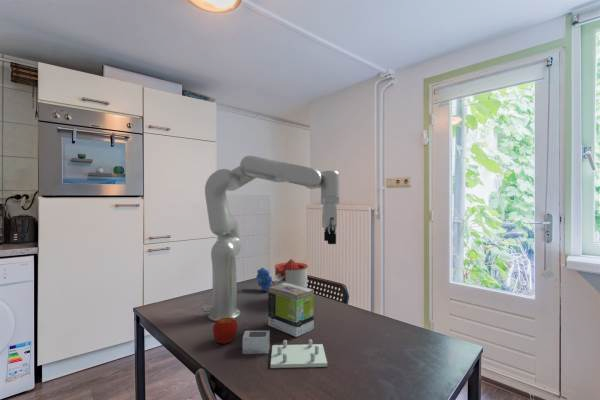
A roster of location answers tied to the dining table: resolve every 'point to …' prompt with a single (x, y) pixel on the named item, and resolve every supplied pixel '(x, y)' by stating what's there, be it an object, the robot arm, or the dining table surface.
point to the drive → (256, 342)
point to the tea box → (291, 308)
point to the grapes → (264, 279)
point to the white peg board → (298, 355)
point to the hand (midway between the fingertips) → (329, 242)
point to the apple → (225, 330)
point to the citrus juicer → (291, 273)
